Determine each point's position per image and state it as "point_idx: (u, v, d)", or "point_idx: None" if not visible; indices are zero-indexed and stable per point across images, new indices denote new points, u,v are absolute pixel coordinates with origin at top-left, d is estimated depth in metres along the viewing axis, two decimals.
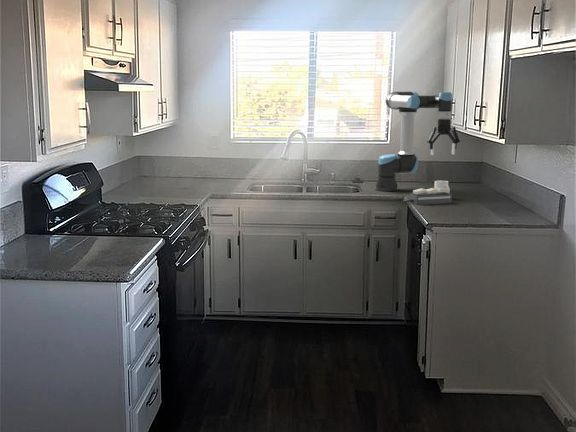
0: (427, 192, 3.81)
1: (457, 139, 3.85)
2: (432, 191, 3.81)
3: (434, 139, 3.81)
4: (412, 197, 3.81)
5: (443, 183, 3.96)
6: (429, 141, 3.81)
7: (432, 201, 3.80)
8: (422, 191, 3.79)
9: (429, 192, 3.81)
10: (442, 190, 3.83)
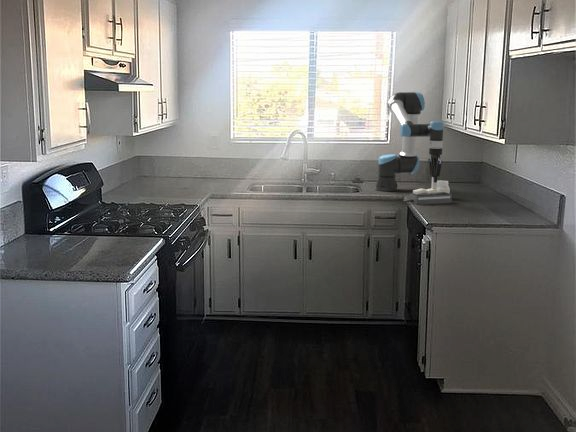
0: (427, 192, 3.81)
1: (435, 172, 3.79)
2: (432, 191, 3.81)
3: (431, 171, 3.83)
4: (412, 197, 3.81)
5: (443, 183, 3.96)
6: None
7: (432, 201, 3.80)
8: (422, 191, 3.79)
9: (429, 192, 3.81)
10: (442, 190, 3.83)
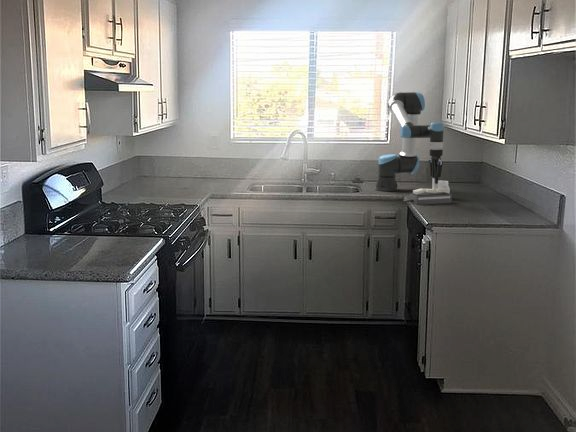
0: (427, 190, 3.81)
1: (436, 173, 3.79)
2: (432, 191, 3.81)
3: (432, 172, 3.83)
4: (412, 197, 3.81)
5: (443, 183, 3.96)
6: (430, 174, 3.85)
7: (432, 201, 3.80)
8: (422, 191, 3.79)
9: (429, 191, 3.80)
10: (442, 190, 3.83)
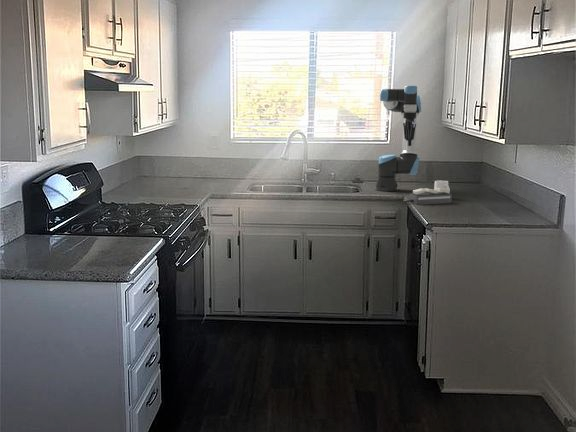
0: (427, 190, 3.81)
1: (409, 136, 3.86)
2: (432, 191, 3.81)
3: (406, 135, 3.90)
4: (412, 197, 3.81)
5: (443, 183, 3.96)
6: (404, 137, 3.92)
7: (432, 201, 3.80)
8: (422, 191, 3.79)
9: (429, 190, 3.80)
10: (442, 190, 3.83)
